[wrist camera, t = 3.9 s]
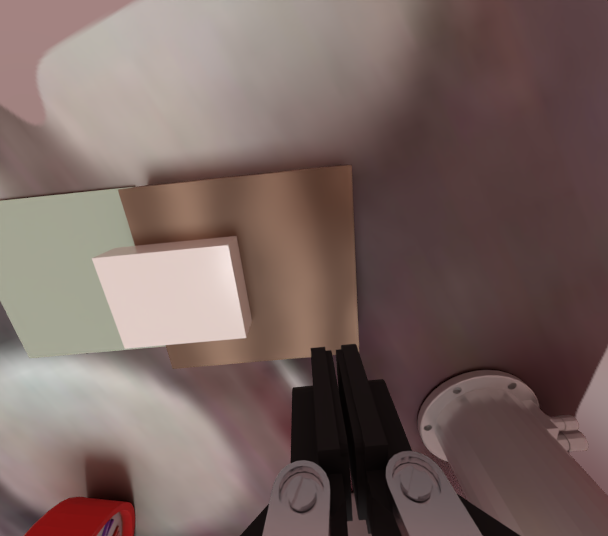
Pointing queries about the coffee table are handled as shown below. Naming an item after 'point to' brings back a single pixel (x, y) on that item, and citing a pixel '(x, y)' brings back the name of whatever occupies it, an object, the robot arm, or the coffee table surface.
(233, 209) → the plate
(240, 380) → the coffee table surface
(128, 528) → the toy clock
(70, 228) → the mat
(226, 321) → the tile
